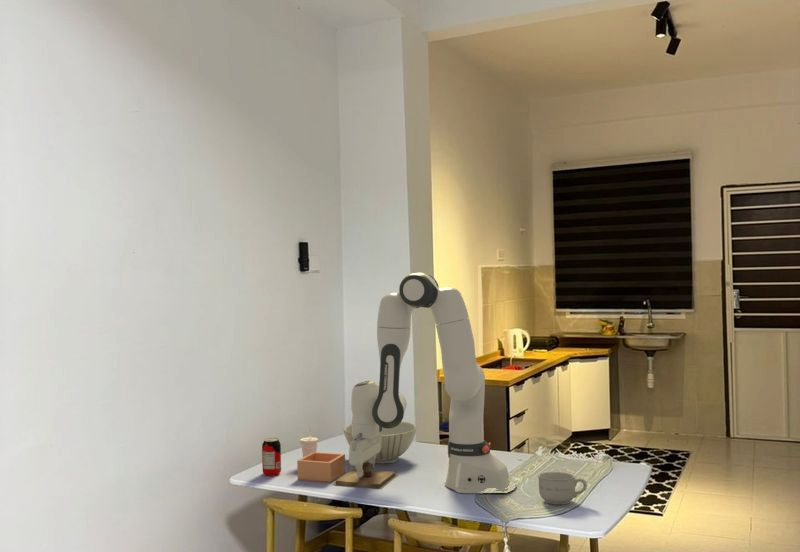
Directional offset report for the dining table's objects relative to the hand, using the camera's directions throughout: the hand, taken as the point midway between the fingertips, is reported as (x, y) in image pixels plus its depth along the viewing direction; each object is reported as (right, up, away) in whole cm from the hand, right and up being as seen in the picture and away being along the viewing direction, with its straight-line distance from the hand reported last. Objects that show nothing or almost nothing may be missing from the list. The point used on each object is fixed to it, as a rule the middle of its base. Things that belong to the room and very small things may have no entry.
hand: (365, 472), depth 235 cm
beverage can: (-33, -4, +11) cm, 35 cm away
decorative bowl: (+4, -3, +27) cm, 28 cm away
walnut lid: (0, -2, 0) cm, 2 cm away
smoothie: (-21, -4, +21) cm, 30 cm away
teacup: (+59, -2, -26) cm, 64 cm away
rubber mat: (0, -3, 0) cm, 3 cm away
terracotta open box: (-15, -3, +5) cm, 16 cm away
